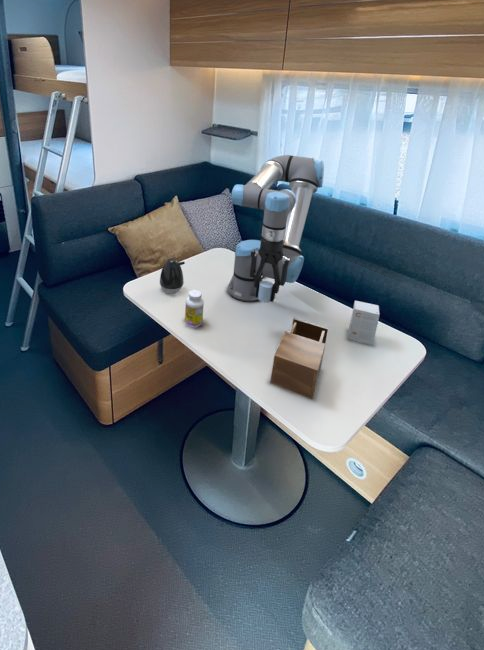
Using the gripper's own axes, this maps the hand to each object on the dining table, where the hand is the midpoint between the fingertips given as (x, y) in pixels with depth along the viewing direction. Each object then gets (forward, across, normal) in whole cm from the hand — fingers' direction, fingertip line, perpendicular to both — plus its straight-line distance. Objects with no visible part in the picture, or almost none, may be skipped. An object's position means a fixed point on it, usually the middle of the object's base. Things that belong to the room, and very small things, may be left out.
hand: (265, 297), depth 145 cm
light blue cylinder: (0, 0, 0) cm, 0 cm away
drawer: (+13, +17, -3) cm, 22 cm away
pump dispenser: (+14, -42, +7) cm, 45 cm away
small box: (+14, +32, +16) cm, 38 cm away
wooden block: (+14, +17, -17) cm, 28 cm away
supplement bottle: (+15, -23, -9) cm, 29 cm away
